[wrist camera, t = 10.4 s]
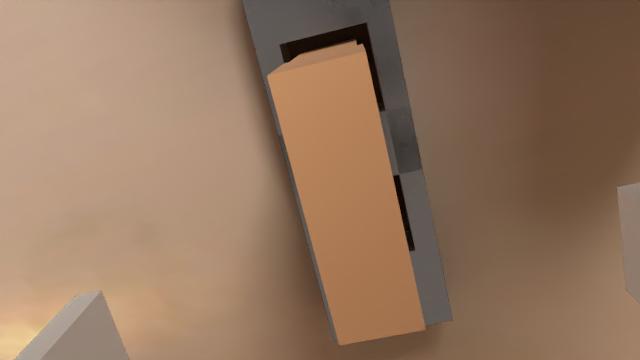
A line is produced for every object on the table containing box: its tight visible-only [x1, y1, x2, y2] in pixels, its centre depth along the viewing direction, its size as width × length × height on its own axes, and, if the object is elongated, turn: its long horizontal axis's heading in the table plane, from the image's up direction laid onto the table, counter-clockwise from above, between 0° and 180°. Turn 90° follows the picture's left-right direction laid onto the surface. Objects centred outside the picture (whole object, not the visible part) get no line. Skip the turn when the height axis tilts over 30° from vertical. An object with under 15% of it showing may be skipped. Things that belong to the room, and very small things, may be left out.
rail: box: [242, 0, 453, 342], centre depth 30 cm, size 22×7×3 cm, turn 14°
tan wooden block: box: [267, 39, 426, 346], centre depth 26 cm, size 11×4×12 cm, turn 14°
